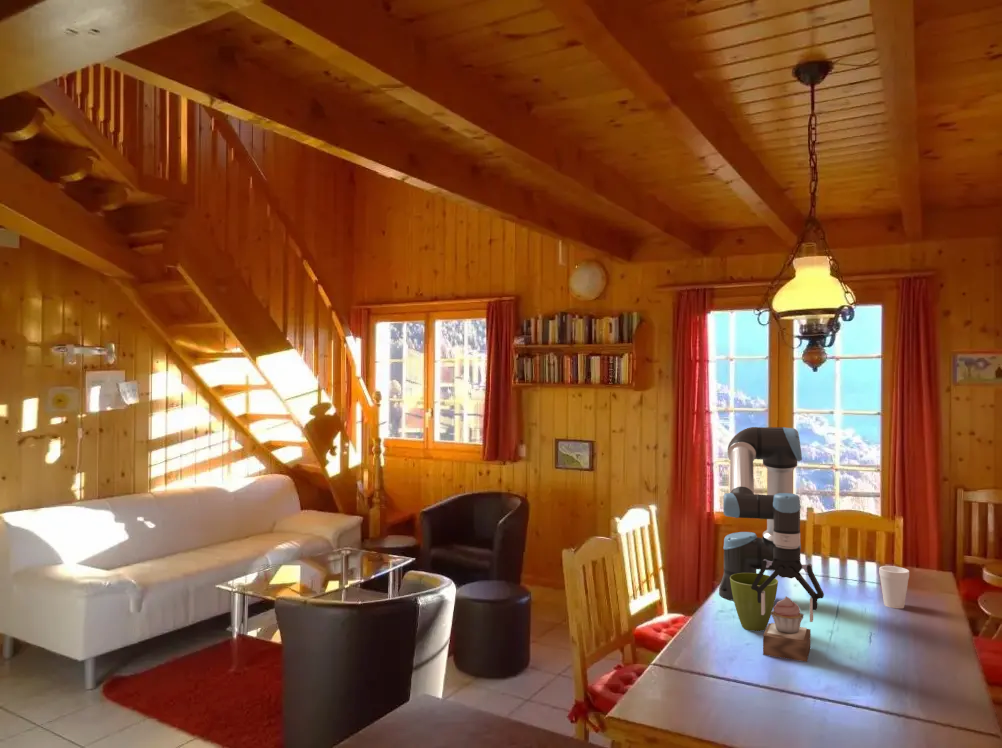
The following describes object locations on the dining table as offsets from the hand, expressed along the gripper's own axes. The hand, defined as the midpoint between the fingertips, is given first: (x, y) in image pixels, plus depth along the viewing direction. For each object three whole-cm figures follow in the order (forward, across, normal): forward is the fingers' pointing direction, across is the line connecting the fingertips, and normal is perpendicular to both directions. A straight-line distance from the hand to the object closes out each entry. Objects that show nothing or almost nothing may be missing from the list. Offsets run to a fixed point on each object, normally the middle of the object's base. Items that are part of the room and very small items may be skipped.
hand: (787, 617), depth 219 cm
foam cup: (+10, +29, +64) cm, 71 cm away
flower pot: (+10, -12, +17) cm, 23 cm away
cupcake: (+4, 0, 0) cm, 4 cm away
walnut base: (+10, 0, 0) cm, 10 cm away
